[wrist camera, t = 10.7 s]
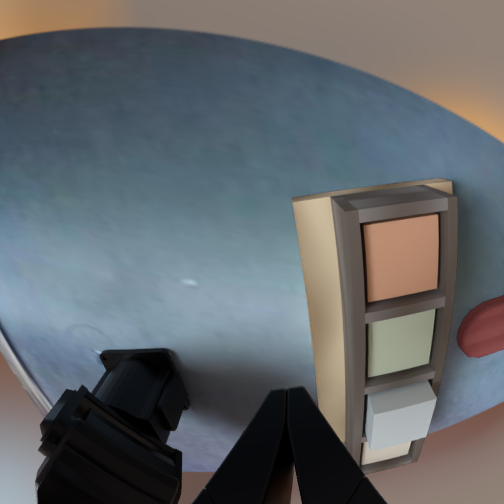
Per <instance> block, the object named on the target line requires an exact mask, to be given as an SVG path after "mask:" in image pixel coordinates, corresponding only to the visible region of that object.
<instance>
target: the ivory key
mask: <svg viewBox="0 0 504 504" xmlns="http://www.w3.org/2000/svg"><path fill="white" fill-rule="evenodd" d="M410 444H411V441H410V442H406V443H403V444H399V445H395V446H391V447H387V448H382V449H378V450H373V451H370V449H369V445H368V442H363V443H361V452H360V461H361V465H364V464H369V463H374V462H378V461H383V460H387V459H391V458H395V457H399V456H402V455H406V454H408V451H409V448H410Z"/></svg>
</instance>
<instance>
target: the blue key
mask: <svg viewBox="0 0 504 504" xmlns="http://www.w3.org/2000/svg"><path fill="white" fill-rule="evenodd" d="M436 400H437V397H436V395H435V394H434V392H433V390H432V388H431V386H430V384H429V382H428V380H425V381H421V382H418V383H414V384H410V385H406V386H402V387H398V388H394V389H389V390H385V391H381V392H376V393H371V394H366V395H364V414H363V424H364V428H365V432H366V436H367V441H368V445H369V449H370V451H373V450H378V449H382V448H387V447H391V446H395V445H399V444H403V443H406V442H410V441H413V440H417V439H420V438H424V437H426V435H427V432H428V429H429V425H430V422H431V418H432V415H433V411H434V408H435V404H436Z"/></svg>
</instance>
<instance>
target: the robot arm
mask: <svg viewBox="0 0 504 504" xmlns="http://www.w3.org/2000/svg"><path fill="white" fill-rule="evenodd" d="M161 355H164V357H163V356H161ZM106 357H107V358H106ZM100 359H101V361H102V363H103V365H104V367H105V369H106V372H105V373H104V375H103V376H102V378H101V379H100V381H99V382H98V384H97V385H96V387H95V388H94V390H93V391H92V393H90V392H89V391H88V389H87V388H86V387H85V386H83V385H81V387H80V388H79V390H78V391H76V390H74V391H73V390H69V389H66V390H65V392H64V393H63V395H62V396H61V397H60V399H59V400H58V401H57V403H56V404H55V405H54V407H53V408H52V409H51V410H50V412H49V413H48V414H47V416H46V417H45V418H44V420H43V421H42V422H41V424H40V429H41V433H42V438H41V440H40V441H41V442H42V444H41V446H40V447H39V449H38V451H39V452H41V453H42V454H43V455H44V456H46V458H45V459H44V461H43V463H42V464H41V466H40V468H39V469H38V472H37V476H36V481H35V489H36V498H37V504H178V501H179V499H180V495H181V488H182V452H181V451H179V450H177V449H174V448H172V447H170V446H168V445H167V444H166V443H167V440H168V437H169V434H170V431H175V430H176V429H177V426H178V423H179V420H180V417H181V414H182V411H183V410H188V409H189V406H190V402H189V400H188V398H187V396H188V394H187V392H186V390H185V387H184V385H183V383H182V380H181V378H180V376H179V374H178V373H177V372H176V370H175V367H174V365H173V362H172V360H171V357H170V355H169V353H168V352H167V351H166V350H164V349H149V350H119V351H102V353H101V354H100ZM294 465H295V471H296V476H297V481H298V486H299V491H300V496H301V501H302V504H387V503H386V501H385V500H384V499H383V497H382V496H381V495H380V494H379V492H378V491H377V490H376V489H375V487H374V486H373V485H372V483H371V482H370V480H369V479H368V478H367V477H365V474H364V472H363V471H362V470H361V468H360V467H359V465H358V464H357V463H356V461H355V460H354V458H353V457H352V455H351V454H350V453H349V451H348V450H347V448H346V447H345V445H344V444H343V443H342V441H341V440H340V438H339V437H338V435H337V434H336V433H335V431H334V430H333V428H332V427H331V425H330V424H329V422H328V421H327V420H326V418H325V417H324V415H323V414H322V412H321V411H320V409H319V408H318V406H317V405H316V403H315V402H314V400H313V399H312V397H311V396H310V395H309V393H308V392H307V390H306V389H305V387H303V386H298V387H290V388H288V390H287V389H286V388H281V389H272V390H270V392H269V393H268V395H267V396H266V398H265V399H264V401H263V403H262V404H261V406H260V407H259V409H258V410H257V412H256V414H255V415H254V417H253V418H252V420H251V421H250V423H249V424H248V426H247V427H246V429H245V430H244V432H243V433H242V435H241V436H240V438H239V439H238V441H237V442H236V444H235V445H234V447H233V448H232V450H231V451H230V452H229V454H228V455H227V457H226V458H225V460H224V461H223V462H222V464H221V465H220V467H219V468H218V469H217V471H216V472H215V474H214V475H213V477H212V478H211V479H210V481H209V482H208V483H207V485H206V486H205V488H206V489H203V490H202V491H201V492H200V494H199V495H198V496H197V498H196V499H195V500H194V502H193V503H192V504H290V501H291V493H292V484H293V474H294Z"/></svg>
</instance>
